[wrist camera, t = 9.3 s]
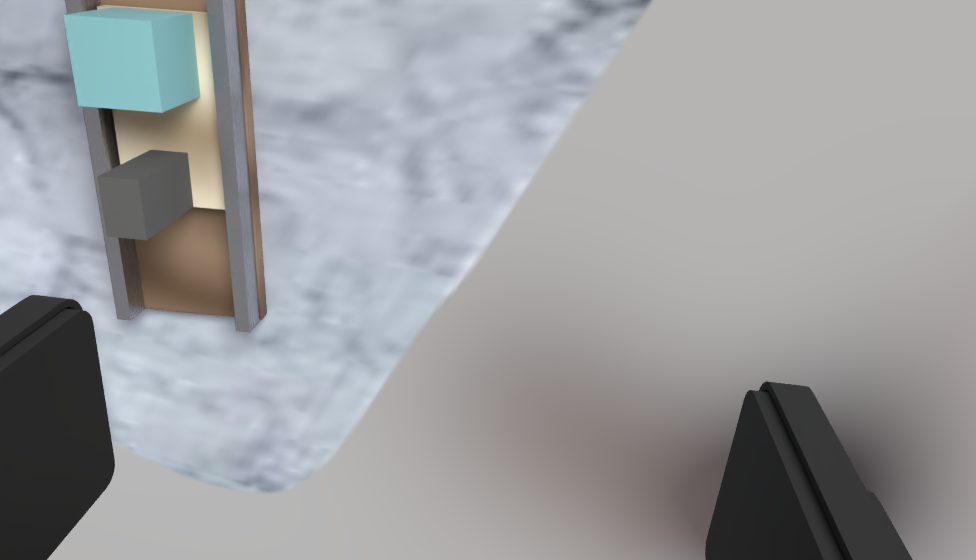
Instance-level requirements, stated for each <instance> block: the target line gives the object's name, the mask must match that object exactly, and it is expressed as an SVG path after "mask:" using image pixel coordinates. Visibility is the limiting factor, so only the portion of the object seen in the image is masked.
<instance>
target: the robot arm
mask: <svg viewBox="0 0 976 560" xmlns="http://www.w3.org/2000/svg"><path fill="white" fill-rule="evenodd" d="M114 467H115V460H114V453H113V447H112V441H111V434H110V428H109V421H108V415H107V408H106V402H105V396H104V389H103V383H102V376H101V370H100V364H99V357H98V351H97V344H96V338H95V332H94V325H93V320H92V317H91V316H90V314H89V313H88V312H86V311H83V310H82V307H81V306H80V304H79V303H78V302H77V301H75V300H73V299H64V298H56V297H48V296H39V295H31V296H29V297H27V298H25V299H23V300H22V301H20V302H19V303H17V304H16V305H14V306H13V307H11V308H10V309H8V310H7V311H5V312H4V313H2V314H1V315H0V560H47V559H48V558H49V556H50V555H51V554H52V553H53V552H54V550H55V549H56V548H57V547H58V546H59V544H60V543H61V542H62V541H63V539H64V538H65V537H66V536H67V535H68V533H69V532H70V531H71V530H72V529H73V528H74V526H75V525H76V524H77V523H78V522H79V520H80V519H81V518H82V517H83V516H84V514H85V513H86V512H87V511H88V510H89V508H90V507H91V506H92V505H93V504H94V502H95V501H96V500H97V499H98V498H99V496H100V495H101V494H102V493H103V492H104V490H105V489H106V488H107V486H108V485H109V483H110V481H111V479H112V476H113V473H114ZM705 554H706V555H705V556H706V560H912V558H911V556H910V554H909V553H908V551H907V549H906V547H905V545H904V544H903V542H902V540H901V538H900V537H899V535H898V533H897V532H896V530H895V528H894V526H893V524H892V522H891V521H890V519H889V517H888V516H887V513H886V512H885V510H884V508H883V506H882V505H881V503H880V501H879V500H878V499H877V497H876V496H875V495H874V494H873V493H872V492H870V491H868V490H866V488H865V486H864V485H863V483H862V481H861V479H860V477H859V476H858V474H857V472H856V470H855V468H854V467H853V465H852V463H851V461H850V459H849V457H848V455H847V454H846V452H845V450H844V448H843V446H842V445H841V443H840V441H839V439H838V437H837V435H836V434H835V432H834V430H833V428H832V426H831V425H830V423H829V421H828V419H827V417H826V416H825V414H824V412H823V410H822V408H821V406H820V405H819V403H818V401H817V399H816V397H815V395H814V394H813V392H812V390H811V389H810V388H809V387H806V386H800V385H791V384H782V383H774V382H765V383H763V384H762V386H761V387H760V390H759V391H753V390H749V391H748V392H747V394H746V395H745V398H744V402H743V405H742V409H741V413H740V416H739V420H738V424H737V428H736V431H735V435H734V439H733V443H732V446H731V450H730V454H729V457H728V461H727V465H726V468H725V472H724V476H723V480H722V483H721V487H720V491H719V495H718V498H717V502H716V506H715V509H714V514H713V517H712V521H711V524H710V528H709V532H708V536H707V540H706V552H705Z"/></svg>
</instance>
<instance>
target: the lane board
mask: <svg viewBox="0 0 976 560" xmlns="http://www.w3.org/2000/svg"><path fill="white" fill-rule="evenodd" d="M65 2H66V8H67V14H71V13H78V12H85V11H92V10H97V6H103V5H112V6H126V7H140V8H154V9H167V10H181V11H195V12H207V15H208V26H209V37H210V48H211V59H212V70H213V81H214V92H215V103H216V114H217V125H218V136H219V147H220V158H221V169H222V180H223V191H224V202H225V210H222V209H211V208H200V207H193V208H191V209H190V210H189V211H187V212H186V213H184V214H183V215H182V216H180V217H179V218H177V219H176V220H175V221H173V222H172V223H170V224H169V225H168V226H166V227H165V228H163V229H162V230H161V231H159V232H158V233H156V234H155V235H154V236H152V237H151V238H149V239H148V240H138V239H128V238H117V237H107V234H106V228H105V222H104V216H103V210H102V204H101V197H100V191H99V185H98V179H97V176H99V175H101V174H103V173H105V172H107V171H109V170H111V169H113V168H115V167H117V166H119V165H120V158H119V152H118V145H117V138H116V131H115V125H114V118H113V111H112V109H110V108H97V107H85V106H83V112H84V118H85V124H86V130H87V136H88V142H89V148H90V154H91V160H92V166H93V173H94V179H95V185H96V191H97V197H98V203H99V209H100V215H101V221H102V227H103V233H104V240H105V246H106V252H107V258H108V264H109V270H110V276H111V282H112V288H113V294H114V300H115V307H116V313H117V319H123V320H132V319H133V318H134V317H135V316H136V315H138V314H139V313H140V312H141V311H142V310H143V309H144V308H151V309H161V310H172V311H182V312H192V313H202V314H213V315H223V316H233V317H235V323H236V331H245V332H250V331H251V330H252V329H253V328H254V326H255V325H256V324H257V323H258V321H259V320H260V319H263V317H264V316H265V315H266V314H267V309H266V295H265V281H264V267H263V253H262V238H261V224H260V210H259V196H258V182H257V168H256V154H255V140H254V126H253V111H252V97H251V83H250V69H249V55H248V41H247V27H246V13H245V0H65Z"/></svg>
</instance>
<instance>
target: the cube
mask: <svg viewBox="0 0 976 560" xmlns="http://www.w3.org/2000/svg"><path fill="white" fill-rule="evenodd" d="M63 17H64V23H65V29H66V35H67V41H68V47H69V53H70V59H71V65H72V71H73V77H74V83H75V89H76V95H77V101H78V106H85V107H97V108H110V109H122V110H134V111H146V112H159V113H163V112H165V111H167V110H170V109H172V108H175V107H177V106H179V105H182V104H184V103H186V102H189V101H191V100H193V99H196V98H198V97H200V87H199V77H198V66H197V56H196V46H195V36H194V26H193V16H192V13H182V12H168V11H155V10H141V9H127V8H113V7H112V8H106V9H99V10H92V11H85V12H78V13H71V14H64V15H63Z"/></svg>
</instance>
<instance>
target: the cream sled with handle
mask: <svg viewBox="0 0 976 560" xmlns="http://www.w3.org/2000/svg"><path fill="white" fill-rule="evenodd" d="M112 7H113V8H127V9H141V10H155V11H168V12H182V13H192V16H193V26H194V36H195V46H196V56H197V66H198V77H199V87H200V97H198V98H196V99H193V100H191V101H189V102H186V103H184V104H182V105H179V106H177V107H175V108H172V109H170V110H167V111H165V112H163V113H159V112H146V111H134V110H122V109H112V111H113V118H114V125H115V131H116V138H117V145H118V152H119V158H120V165H119V166H117V167H115V168H113V169H111V170H109V171H107V172H105V173H103V174H101V175H99V176H97V179H98V185H99V191H100V197H101V204H102V210H103V216H104V222H105V228H106V234H107V237H117V238H128V239H138V240H148V239H149V238H151V237H152V236H154V235H155V234H156V233H158V232H159V231H161V230H162V229H163V228H165V227H166V226H168V225H169V224H170V223H172V222H173V221H175V220H176V219H177V218H179V217H180V216H182V215H183V214H184V213H186V212H187V211H189V210H190V209H191V208H193V207H200V208H211V209H222V210H225V202H224V191H223V180H222V169H221V158H220V147H219V136H218V125H217V114H216V103H215V92H214V81H213V70H212V59H211V48H210V37H209V26H208V15H207V12H195V11H181V10H167V9H154V8H140V7H126V6H112V5H103V6H97V10H99V9H106V8H112Z"/></svg>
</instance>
